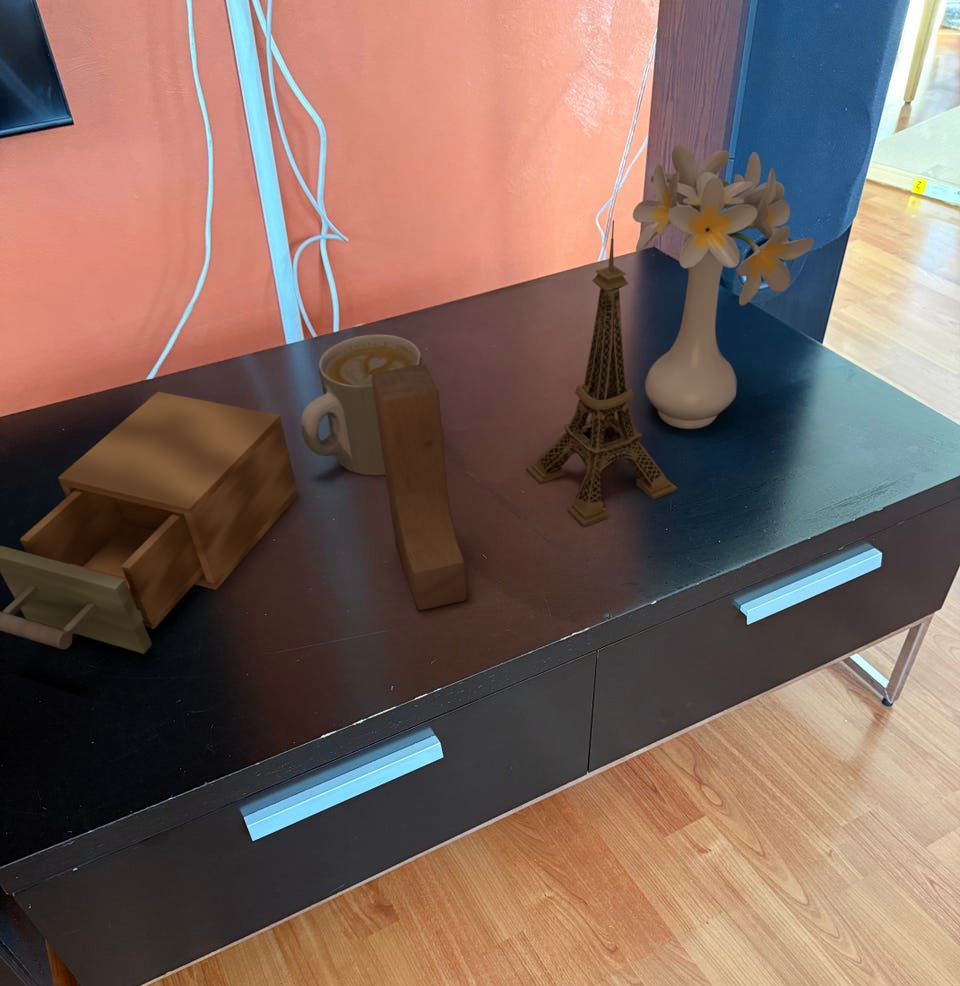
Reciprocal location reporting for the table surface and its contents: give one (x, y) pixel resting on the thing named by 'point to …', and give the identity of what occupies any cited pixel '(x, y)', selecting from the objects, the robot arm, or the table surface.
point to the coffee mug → (354, 399)
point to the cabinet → (196, 473)
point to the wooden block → (418, 485)
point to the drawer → (93, 595)
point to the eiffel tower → (602, 413)
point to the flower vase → (711, 273)
